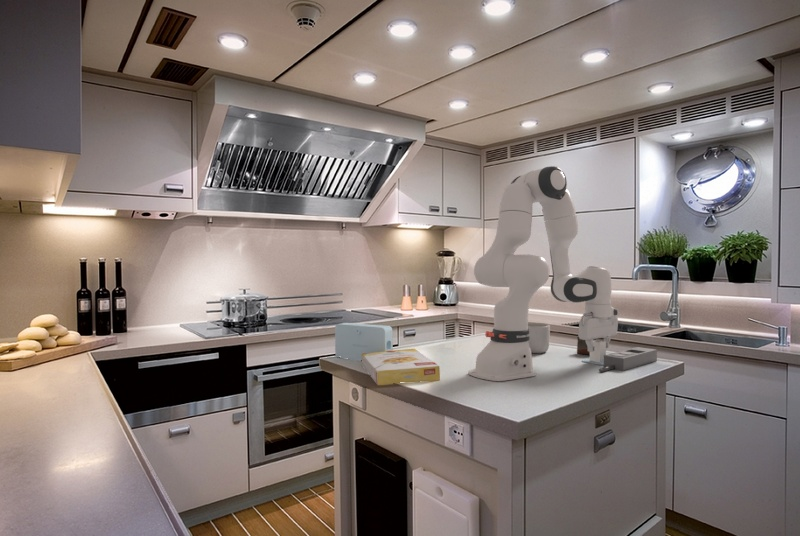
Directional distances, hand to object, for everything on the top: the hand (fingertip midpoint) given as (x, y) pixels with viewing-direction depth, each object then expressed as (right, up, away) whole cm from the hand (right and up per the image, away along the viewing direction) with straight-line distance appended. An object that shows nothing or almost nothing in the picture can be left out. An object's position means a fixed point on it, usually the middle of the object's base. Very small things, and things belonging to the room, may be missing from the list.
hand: (598, 349), depth 174 cm
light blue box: (-85, -6, +9) cm, 86 cm away
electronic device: (+3, -5, +14) cm, 15 cm away
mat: (0, -4, 0) cm, 4 cm away
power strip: (+7, -4, -6) cm, 10 cm away
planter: (-17, -5, +21) cm, 28 cm away
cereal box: (-72, -6, -13) cm, 73 cm away
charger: (0, -4, 0) cm, 4 cm away
